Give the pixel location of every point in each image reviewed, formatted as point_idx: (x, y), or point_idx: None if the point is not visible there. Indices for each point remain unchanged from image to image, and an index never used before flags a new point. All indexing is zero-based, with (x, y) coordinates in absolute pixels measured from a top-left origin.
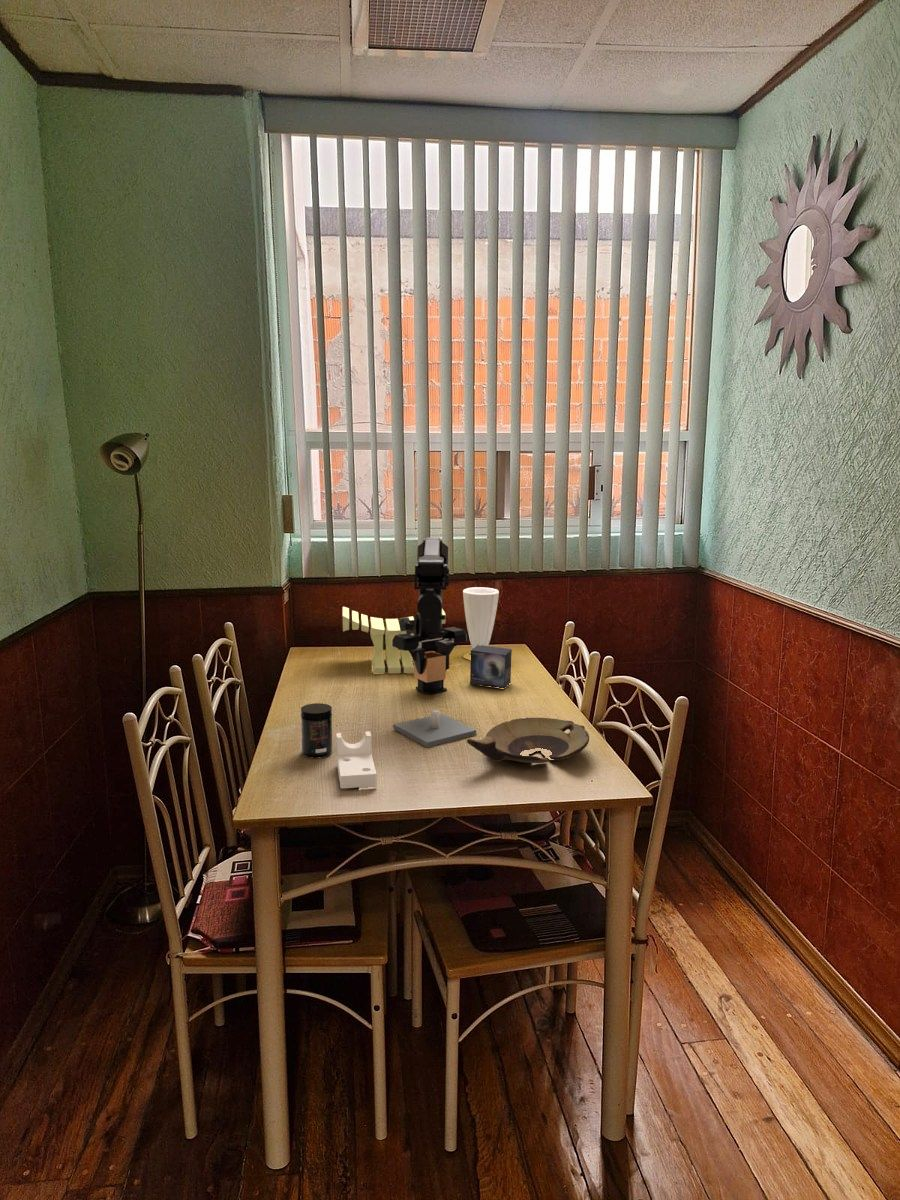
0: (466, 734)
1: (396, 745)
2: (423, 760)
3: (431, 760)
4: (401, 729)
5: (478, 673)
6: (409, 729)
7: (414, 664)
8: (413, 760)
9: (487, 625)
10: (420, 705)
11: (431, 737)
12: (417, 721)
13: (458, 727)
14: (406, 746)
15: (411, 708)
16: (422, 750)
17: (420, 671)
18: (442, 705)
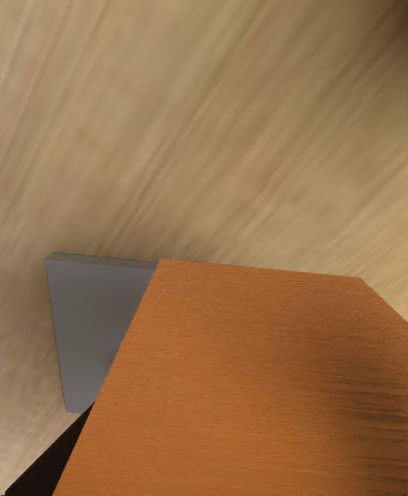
0: None
1: (5, 347)
2: (26, 435)
3: (43, 443)
4: (52, 300)
5: None
6: (69, 323)
7: (125, 342)
8: (6, 424)
9: None
10: (313, 91)
11: (94, 397)
12: (133, 288)
13: None
14: (27, 366)
15: (250, 100)
16: (52, 402)
17: None
18: (382, 162)
